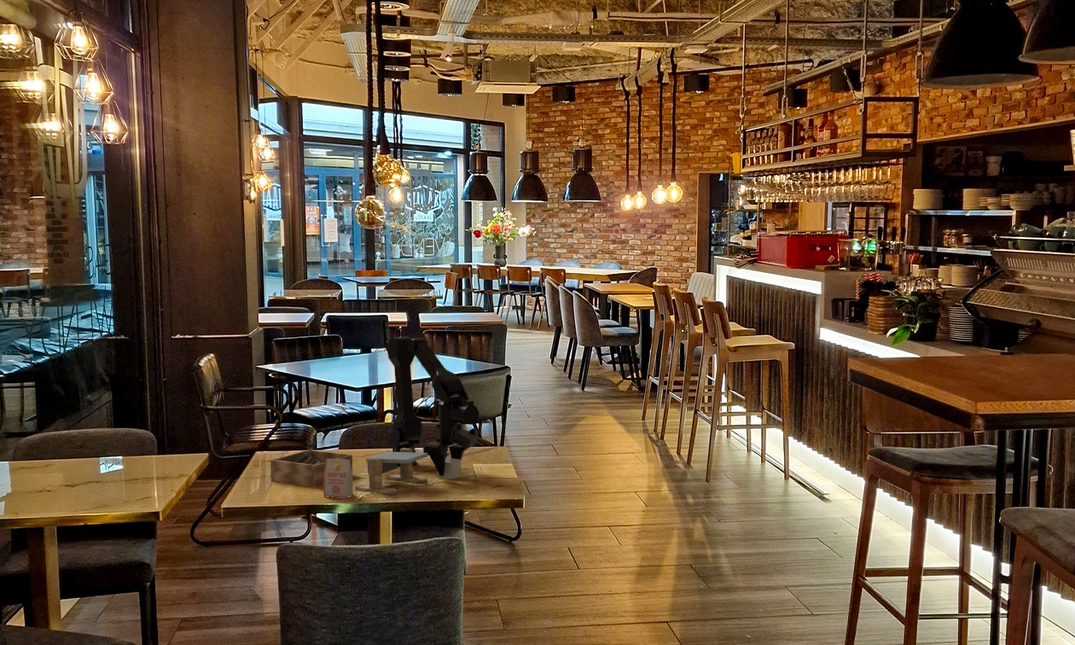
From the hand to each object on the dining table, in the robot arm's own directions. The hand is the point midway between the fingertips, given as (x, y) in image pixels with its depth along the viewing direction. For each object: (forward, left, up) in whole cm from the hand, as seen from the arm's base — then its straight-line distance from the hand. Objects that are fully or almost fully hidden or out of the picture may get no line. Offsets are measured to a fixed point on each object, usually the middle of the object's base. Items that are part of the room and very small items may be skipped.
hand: (449, 473), depth 273 cm
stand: (-9, -16, -1) cm, 18 cm away
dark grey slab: (-7, -16, +3) cm, 18 cm away
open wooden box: (-35, -19, -1) cm, 40 cm away
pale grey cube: (0, 0, -1) cm, 1 cm away
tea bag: (-15, -32, -1) cm, 35 cm away
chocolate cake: (-38, -19, -2) cm, 43 cm away
